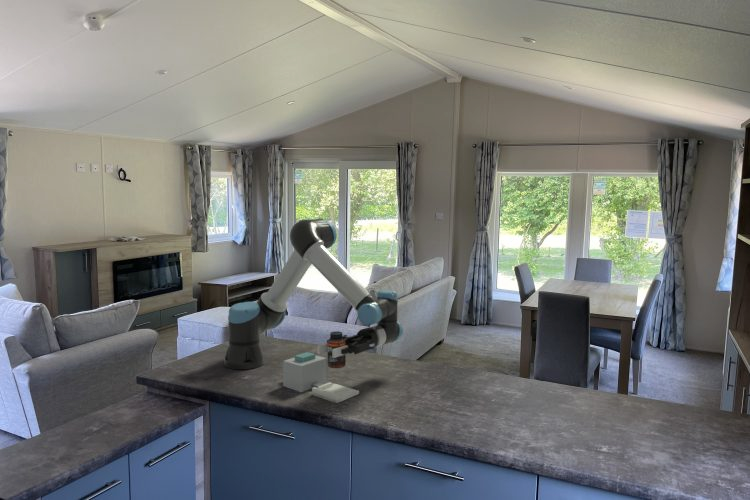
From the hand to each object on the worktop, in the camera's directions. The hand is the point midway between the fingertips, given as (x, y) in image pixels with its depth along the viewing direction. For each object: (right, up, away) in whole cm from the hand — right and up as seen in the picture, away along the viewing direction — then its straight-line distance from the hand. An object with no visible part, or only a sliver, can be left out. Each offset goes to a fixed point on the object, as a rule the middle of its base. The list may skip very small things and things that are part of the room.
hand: (325, 351), depth 173 cm
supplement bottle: (+3, -6, +5) cm, 8 cm away
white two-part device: (-4, -15, +11) cm, 19 cm away
